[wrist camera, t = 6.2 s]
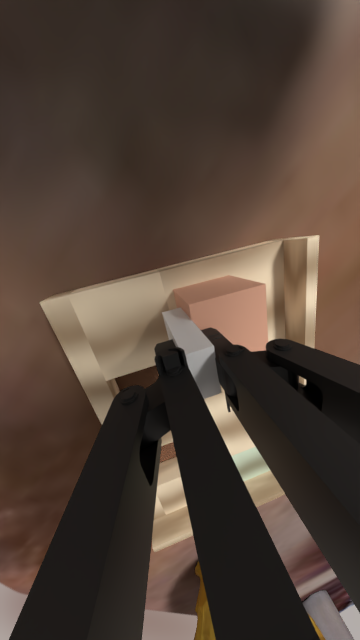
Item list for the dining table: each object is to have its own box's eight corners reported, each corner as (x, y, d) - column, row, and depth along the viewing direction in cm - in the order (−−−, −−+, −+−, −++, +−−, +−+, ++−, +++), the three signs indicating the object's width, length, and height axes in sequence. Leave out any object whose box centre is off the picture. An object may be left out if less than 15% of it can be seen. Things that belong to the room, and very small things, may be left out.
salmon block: (172, 289, 16) (188, 304, 11) (228, 275, 17) (265, 283, 12) (184, 342, 18) (202, 373, 13) (234, 327, 18) (268, 352, 14)
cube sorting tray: (52, 295, 16) (20, 312, 12) (274, 239, 19) (319, 235, 15) (151, 502, 28) (154, 552, 23) (281, 448, 31) (308, 484, 26)
